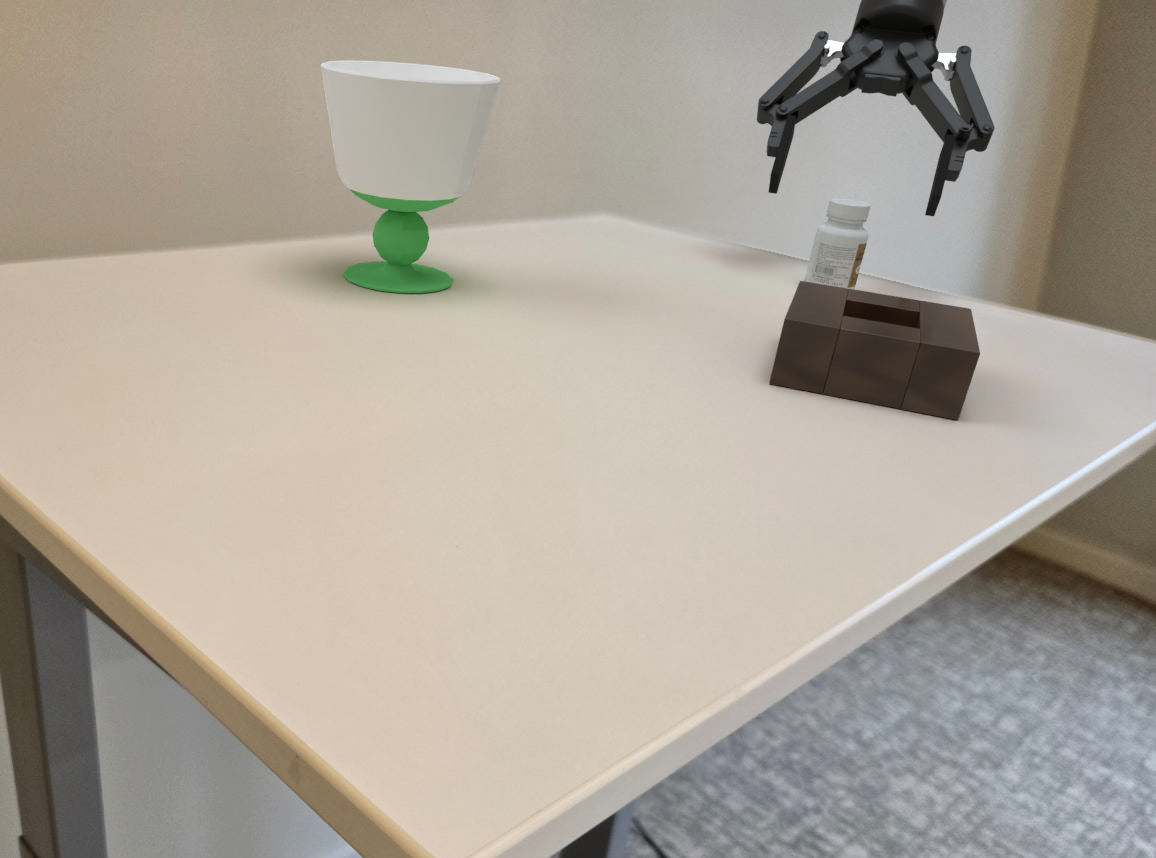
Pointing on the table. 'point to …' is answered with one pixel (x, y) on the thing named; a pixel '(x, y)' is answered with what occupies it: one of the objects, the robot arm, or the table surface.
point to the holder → (877, 349)
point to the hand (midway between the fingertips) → (851, 195)
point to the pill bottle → (839, 244)
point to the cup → (405, 154)
